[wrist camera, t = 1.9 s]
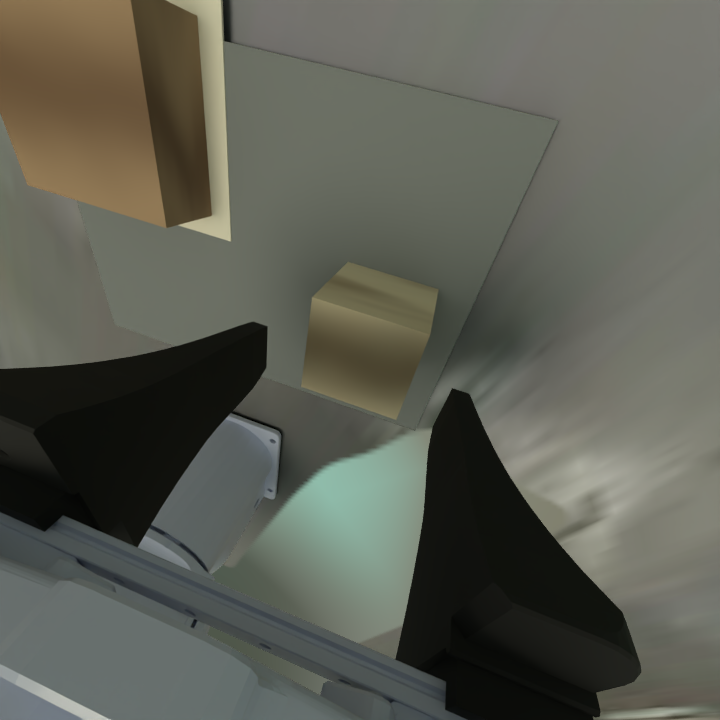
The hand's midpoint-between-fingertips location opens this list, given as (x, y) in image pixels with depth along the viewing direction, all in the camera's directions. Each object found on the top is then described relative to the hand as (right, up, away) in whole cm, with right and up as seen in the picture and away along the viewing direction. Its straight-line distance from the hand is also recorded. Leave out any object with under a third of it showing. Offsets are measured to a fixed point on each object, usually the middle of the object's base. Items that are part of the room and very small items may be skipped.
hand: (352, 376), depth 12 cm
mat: (-5, +6, +5) cm, 9 cm away
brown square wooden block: (-10, +12, +2) cm, 15 cm away
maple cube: (+1, +3, +4) cm, 6 cm away
